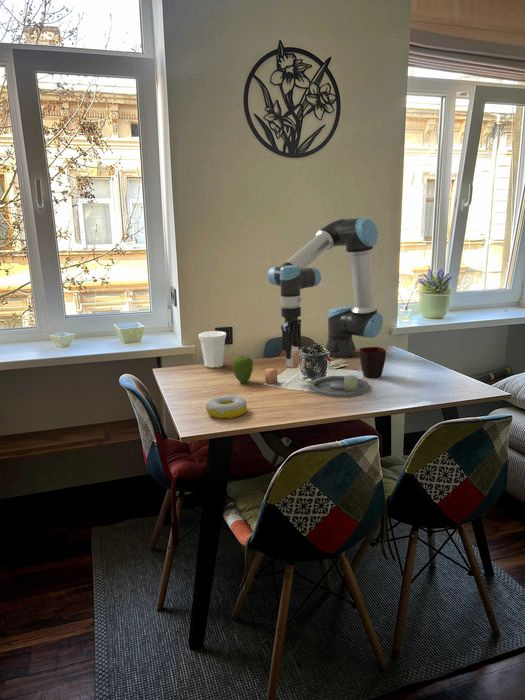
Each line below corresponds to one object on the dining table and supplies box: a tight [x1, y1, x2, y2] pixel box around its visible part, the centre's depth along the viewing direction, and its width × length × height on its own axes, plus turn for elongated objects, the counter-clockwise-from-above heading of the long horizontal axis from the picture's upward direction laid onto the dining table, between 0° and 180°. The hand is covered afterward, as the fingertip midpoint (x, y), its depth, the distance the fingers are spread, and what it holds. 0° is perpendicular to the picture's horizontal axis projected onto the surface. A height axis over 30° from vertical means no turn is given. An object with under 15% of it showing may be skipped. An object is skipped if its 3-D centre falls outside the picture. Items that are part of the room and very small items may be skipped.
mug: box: [359, 346, 387, 379], centre depth 209 cm, size 10×14×12 cm
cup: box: [198, 330, 227, 368], centre depth 231 cm, size 12×12×15 cm
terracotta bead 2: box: [286, 352, 300, 370], centre depth 199 cm, size 5×5×6 cm
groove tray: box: [309, 375, 370, 398], centre depth 195 cm, size 22×22×2 cm
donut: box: [205, 394, 248, 419], centre depth 174 cm, size 14×14×5 cm
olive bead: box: [344, 375, 358, 393], centre depth 189 cm, size 5×5×6 cm
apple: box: [232, 355, 254, 384], centre depth 206 cm, size 9×8×12 cm
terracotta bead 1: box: [264, 367, 278, 385], centre depth 205 cm, size 5×5×6 cm
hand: (292, 364), depth 200 cm, fingers closed on terracotta bead 2, 5 cm apart
